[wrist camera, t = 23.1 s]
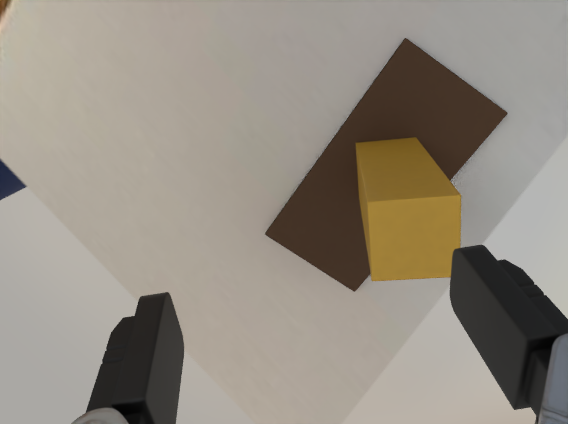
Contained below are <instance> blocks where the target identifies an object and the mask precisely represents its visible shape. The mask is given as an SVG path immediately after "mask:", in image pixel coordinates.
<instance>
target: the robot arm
mask: <svg viewBox="0 0 568 424" xmlns="http://www.w3.org/2000/svg"><path fill="white" fill-rule="evenodd" d="M450 300H451V304H452V307H453V310H454V312H455V314H456V316H457V317H458V319H459V320H460V322H461V324H462V326H463V327H464V329H465V331H466V332H467V334H468V335H469V337H470V339H471V340H472V342H473V344H474V345H475V347H476V348H477V350H478V352H479V353H480V355H481V357H482V358H483V360H484V362H485V363H486V365H487V366H488V368H489V370H490V371H491V373H492V375H493V376H494V378H495V379H496V381H497V383H498V384H499V386H500V387H501V389H502V391H503V393H504V394H505V396H506V397H507V399H508V401H509V402H510V404H511V406H512V407H513V409H514V410H516V409H523V408H528V407H531V408H532V410H533V411H534V413H535V414H536V420H535V424H568V319H567V318H566V317H565V316H564V315H563V314H562V312H561V311H560V310H559V309H558V308H557V307H556V306H555V305H554V304H553V303H552V302H551V300H550V299H549V298H548V297H547V296H546V295H545V296H544V293H543V292H542V291H541V289H540V288H539V287H538V286H537V285H534V282H533V280H532V279H531V278H530V277H529V276H528V275H527V274H526V273H525V272H524V271H523V269H521V268H519V267H517V266H516V265H514V264H512V263H510V262H509V261H507V260H499V261H497V260H496V259H495V257H494V256H493V255H492V254H491V253H490V252H489V250H488V249H487V248H486V247H485V246H484V245H476V246H470V247H463V248H457V249H455V250H454V251H453V255H452V267H451V280H450ZM106 349H107V351H105V354H104V357H103V360H102V361H103V363H102V364H101V366H100V369H99V373H98V376H97V379H96V382H95V385H94V388H93V391H92V395H91V398H90V401H89V404H88V407H87V410H86V413H85V414H83V415H82V416H80V417H79V418H77V419H76V420H75V421H74V422H73V423H71V424H176V416H177V408H178V399H179V391H180V383H181V374H182V366H183V358H184V342H183V335H182V331H181V328H180V325H179V322H178V318H177V315H176V312H175V309H174V305H173V302H172V299H171V296H170V294H169V293H168V292H166V293H159V294H153V295H146V296H141V297H140V299H139V302H138V305H137V309H136V313H135V316H131V317H125V318H123V319H122V320H121V321H120V322H119V324H118V325H117V326H116V327H115V328H114V330H113V331H112V332H111V335H110V338H109V341H108V344H107V348H106Z"/></svg>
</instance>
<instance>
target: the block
mask: <svg viewBox="0 0 568 424" xmlns="http://www.w3.org/2000/svg"><path fill="white" fill-rule="evenodd" d="M356 157H357V173H358V189H359V201H360V207H361V214H362V220H363V227H364V233H365V240H366V246H367V253H368V259H369V266H370V273H371V279H372V281H386V280H405V279H424V278H443V277H451V267H452V255H453V251H454V250H455V249H457V248H460V235H461V195H460V193H459V192H458V191H457V189H456V188H455V187H454V186H453V184H452V183H451V182H450V180H449V179H448V178H447V177H446V175H445V174H444V173H443V171H442V170H441V169H440V168H439V166H438V165H437V164H436V162H435V161H434V160H433V158H432V157H431V156H430V155H429V153H428V152H427V151H426V149H425V148H424V147H423V146H422V144H421V143H420V142H419V140H418V139H417V138H416V137H414V138H403V139H392V140H382V141H371V142H360V143H356Z"/></svg>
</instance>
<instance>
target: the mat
mask: <svg viewBox="0 0 568 424" xmlns="http://www.w3.org/2000/svg"><path fill="white" fill-rule="evenodd" d="M506 115H507V112H506V111H504V110H503V109H502V108H500V107H499V106H498V105H496V104H495V103H493V102H492V101H491V100H489V99H488V98H487V97H485V96H484V95H483V94H481V93H480V92H478V91H477V90H476V89H474V88H473V87H472V86H470V85H469V84H468V83H466V82H465V81H464V80H462V79H461V78H459V77H458V76H457V75H455V74H454V73H453V72H451V71H450V70H449V69H447V68H446V67H444V66H443V65H442V64H440V63H439V62H438V61H436V60H435V59H434V58H432V57H431V56H429V55H428V54H427V53H425V52H424V51H423V50H421V49H420V48H419V47H417V46H416V45H414V44H413V43H412V42H410V41H409V40H408V39H406V38H405V39H404V40H403V42H402V43H401V45H400V46H399V47H398V49H397V50H396V52H395V53H394V54H393V56H392V57H391V58H390V60H389V61H388V63H387V64H386V65H385V67H384V68H383V70H382V71H381V72H380V74H379V75H378V77H377V78H376V79H375V81H374V82H373V84H372V85H371V86H370V88H369V89H368V91H367V92H366V93H365V95H364V96H363V98H362V99H361V100H360V102H359V103H358V105H357V106H356V107H355V109H354V110H353V112H352V113H351V114H350V116H349V117H348V119H347V120H346V121H345V123H344V124H343V125H342V127H341V128H340V130H339V131H338V132H337V134H336V135H335V137H334V138H333V139H332V141H331V142H330V144H329V145H328V146H327V148H326V149H325V151H324V152H323V153H322V155H321V156H320V158H319V159H318V160H317V162H316V163H315V165H314V166H313V167H312V169H311V170H310V172H309V173H308V174H307V176H306V177H305V179H304V180H303V181H302V183H301V184H300V186H299V187H298V188H297V190H296V191H295V192H294V194H293V195H292V197H291V198H290V199H289V201H288V202H287V204H286V205H285V206H284V208H283V209H282V211H281V212H280V213H279V215H278V216H277V218H276V219H275V220H274V222H273V223H272V225H271V226H270V227H269V229H268V230H267V232H266V234H265V235H267V236H268V237H270V238H272V239H273V240H275V241H276V242H278V243H279V244H281V245H282V246H284V247H286V248H287V249H289V250H290V251H292V252H293V253H295V254H296V255H298V256H300V257H301V258H303V259H304V260H306V261H307V262H309V263H310V264H312V265H314V266H315V267H317V268H318V269H320V270H321V271H323V272H325V273H326V274H328V275H329V276H331V277H332V278H334V279H335V280H337V281H339V282H340V283H342V284H343V285H345V286H346V287H348V288H349V289H351V290H353V291H354V292H355V291H356V290H357V289H358V287H359V286H360V285H361V284H362V283H363V282H364V280H365V279H366V278H367V277H368V276H369V275H370V266H369V259H368V253H367V246H366V240H365V233H364V227H363V220H362V214H361V207H360V201H359V189H358V173H357V157H356V143H360V142H371V141H382V140H392V139H403V138H414V137H416V138H417V139H418V140H419V142H420V143H421V144H422V146H423V147H424V148H425V149H426V151H427V152H428V153H429V155H430V156H431V157H432V158H433V160H434V161H435V162H436V164H437V165H438V166H439V168H440V169H441V170H442V171H443V173H444V174H445V175H446V177H447V178H448V179H449V180H451V179H452V178H453V177H454V175H455V174H456V173H457V172H458V171H459V170H460V168H461V167H462V166H463V165H464V164H465V163H466V161H467V160H468V159H469V158H470V157H471V156H472V154H473V153H474V152H475V151H476V150H477V149H478V147H479V146H480V145H481V144H482V143H483V142H484V140H485V139H486V138H487V137H488V136H489V135H490V133H491V132H492V131H493V130H494V129H495V128H496V126H497V125H498V124H499V123H500V122H501V121H502V119H503V118H504V117H505V116H506Z"/></svg>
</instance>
